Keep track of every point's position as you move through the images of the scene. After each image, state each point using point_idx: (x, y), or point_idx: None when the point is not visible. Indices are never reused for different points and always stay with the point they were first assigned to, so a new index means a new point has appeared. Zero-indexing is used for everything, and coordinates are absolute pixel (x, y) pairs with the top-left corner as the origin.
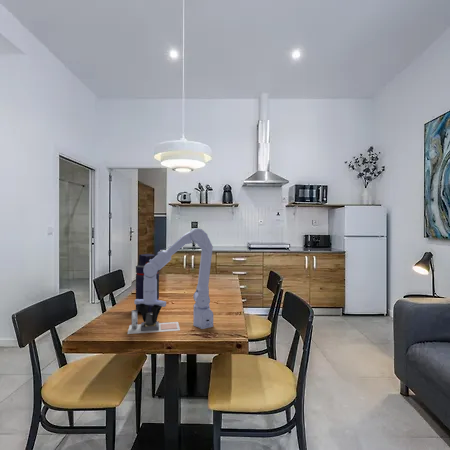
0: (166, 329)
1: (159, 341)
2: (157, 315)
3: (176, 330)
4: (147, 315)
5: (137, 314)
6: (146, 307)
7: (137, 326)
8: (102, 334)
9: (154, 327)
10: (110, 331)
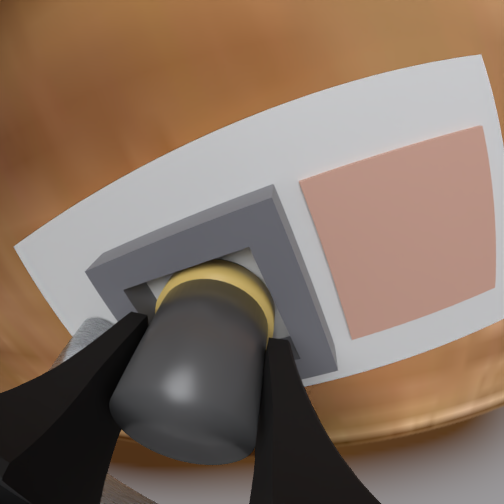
0: (404, 323)
1: (368, 440)
2: (302, 408)
3: (481, 328)
4: (181, 456)
5: None
6: (65, 474)
7: (84, 277)
8: (23, 367)
9: None
10: (12, 331)
